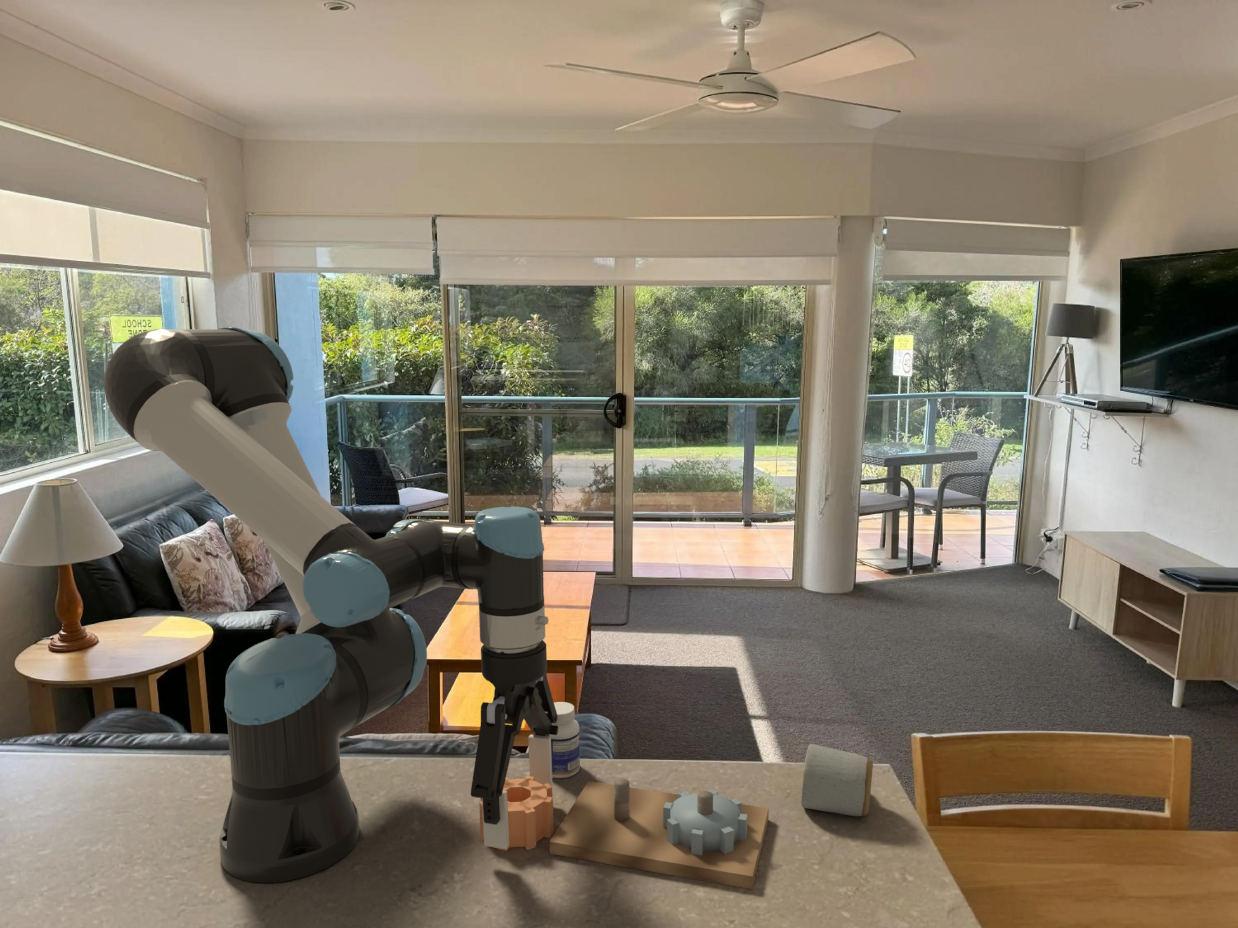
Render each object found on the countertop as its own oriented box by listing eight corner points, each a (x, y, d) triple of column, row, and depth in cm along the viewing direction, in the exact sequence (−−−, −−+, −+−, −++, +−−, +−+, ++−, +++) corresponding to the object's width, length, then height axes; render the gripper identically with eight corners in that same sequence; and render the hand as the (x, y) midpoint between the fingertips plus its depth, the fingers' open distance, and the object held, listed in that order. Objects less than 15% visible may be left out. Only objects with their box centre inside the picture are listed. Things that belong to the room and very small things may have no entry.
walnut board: (549, 853, 101) (549, 804, 100) (588, 791, 114) (588, 748, 113) (752, 889, 94) (753, 837, 93) (768, 819, 107) (769, 773, 107)
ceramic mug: (869, 830, 105) (872, 769, 104) (799, 818, 108) (801, 759, 107) (871, 787, 115) (874, 731, 114) (808, 778, 118) (810, 723, 117)
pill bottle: (537, 763, 121) (536, 702, 120) (574, 757, 123) (573, 697, 122) (545, 782, 116) (544, 718, 115) (584, 775, 118) (583, 713, 117)
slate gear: (654, 847, 99) (654, 826, 99) (673, 803, 108) (673, 784, 108) (739, 861, 97) (740, 840, 96) (752, 815, 106) (752, 795, 105)
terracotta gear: (467, 843, 103) (465, 807, 102) (498, 804, 111) (497, 771, 110) (537, 856, 100) (537, 819, 99) (564, 815, 108) (563, 781, 108)
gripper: (498, 686, 89) (507, 880, 92) (579, 611, 113) (584, 767, 116) (431, 680, 91) (442, 869, 94) (524, 607, 115) (530, 760, 118)
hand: (520, 813), depth 105 cm, fingers open, 13 cm apart
